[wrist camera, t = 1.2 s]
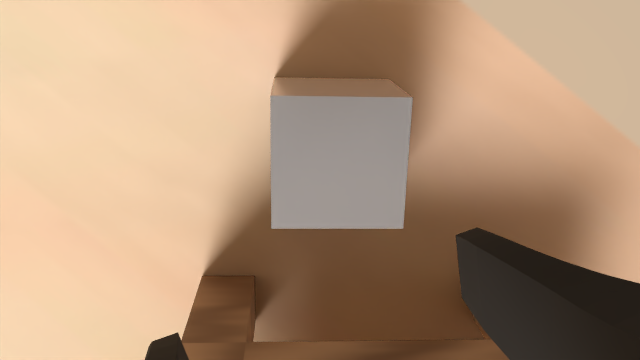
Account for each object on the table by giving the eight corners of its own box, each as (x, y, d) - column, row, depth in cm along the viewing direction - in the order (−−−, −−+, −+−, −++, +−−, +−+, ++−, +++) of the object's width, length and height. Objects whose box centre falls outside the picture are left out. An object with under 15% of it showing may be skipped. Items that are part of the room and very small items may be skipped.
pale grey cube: (388, 78, 24) (412, 97, 20) (382, 186, 26) (403, 228, 21) (274, 76, 24) (270, 95, 19) (274, 186, 26) (271, 228, 21)
